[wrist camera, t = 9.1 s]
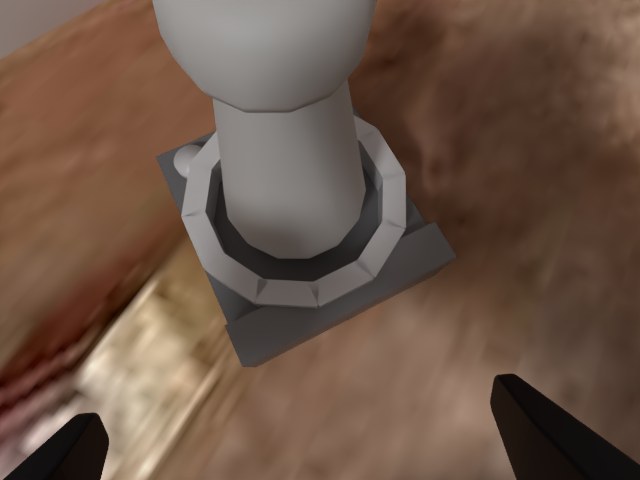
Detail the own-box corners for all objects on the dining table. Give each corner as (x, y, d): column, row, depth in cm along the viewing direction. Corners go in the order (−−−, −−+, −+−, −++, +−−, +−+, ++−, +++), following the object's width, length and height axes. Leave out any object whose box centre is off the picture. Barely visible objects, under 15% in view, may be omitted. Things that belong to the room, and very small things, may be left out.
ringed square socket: (435, 274, 21) (460, 253, 17) (255, 367, 20) (240, 366, 16) (335, 108, 24) (338, 58, 20) (172, 179, 23) (143, 140, 19)
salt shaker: (255, 145, 20) (155, -202, 8) (369, 168, 20) (451, -155, 8) (220, 256, 19) (25, 37, 6) (344, 285, 18) (395, 111, 6)
